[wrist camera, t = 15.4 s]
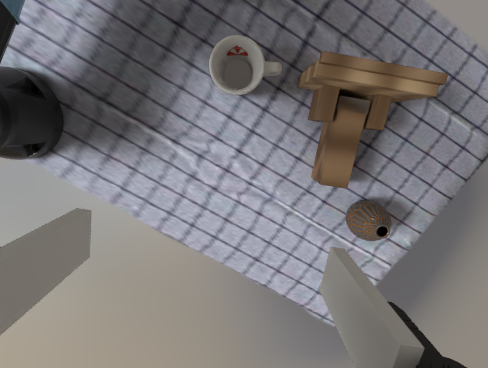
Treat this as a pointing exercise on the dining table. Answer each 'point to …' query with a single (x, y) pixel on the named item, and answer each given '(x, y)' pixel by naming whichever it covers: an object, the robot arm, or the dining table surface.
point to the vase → (368, 220)
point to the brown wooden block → (340, 142)
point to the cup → (239, 65)
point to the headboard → (365, 85)
